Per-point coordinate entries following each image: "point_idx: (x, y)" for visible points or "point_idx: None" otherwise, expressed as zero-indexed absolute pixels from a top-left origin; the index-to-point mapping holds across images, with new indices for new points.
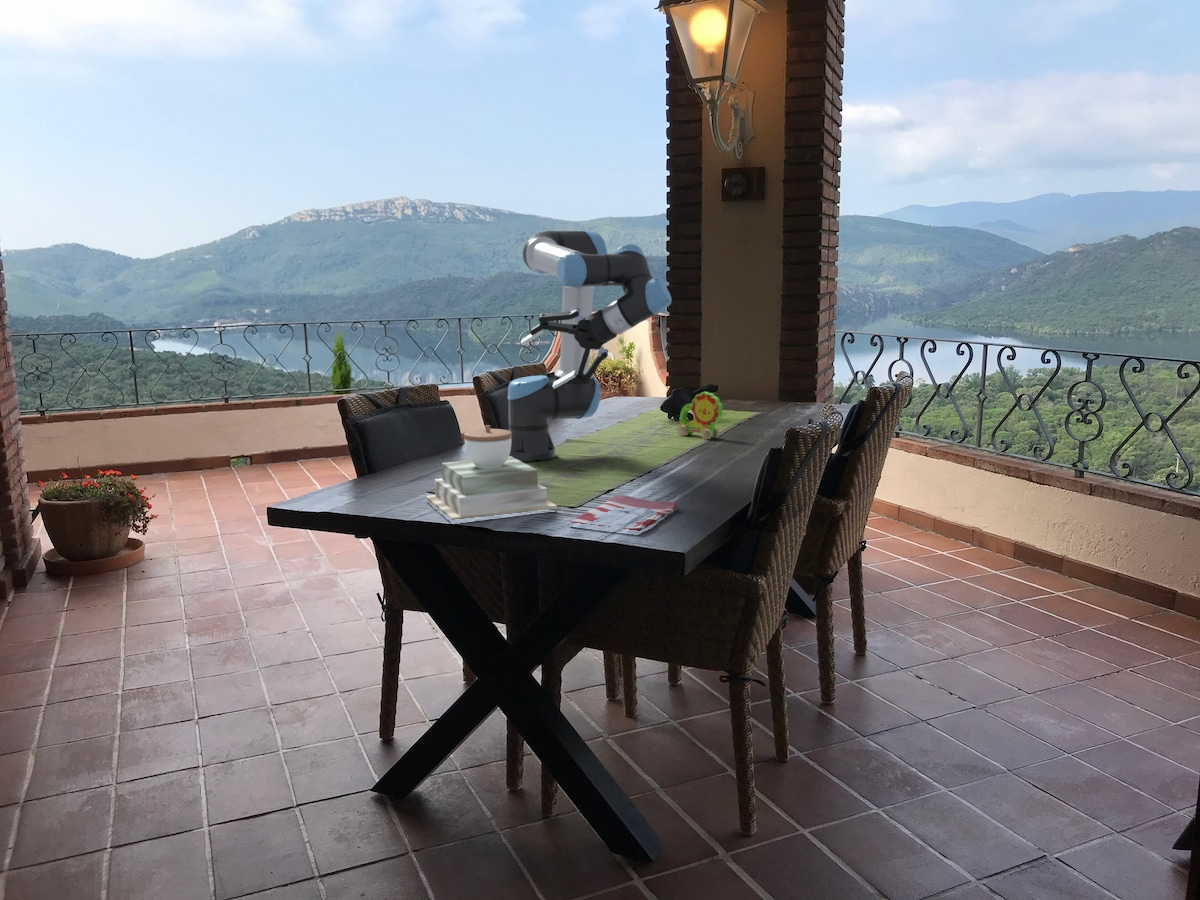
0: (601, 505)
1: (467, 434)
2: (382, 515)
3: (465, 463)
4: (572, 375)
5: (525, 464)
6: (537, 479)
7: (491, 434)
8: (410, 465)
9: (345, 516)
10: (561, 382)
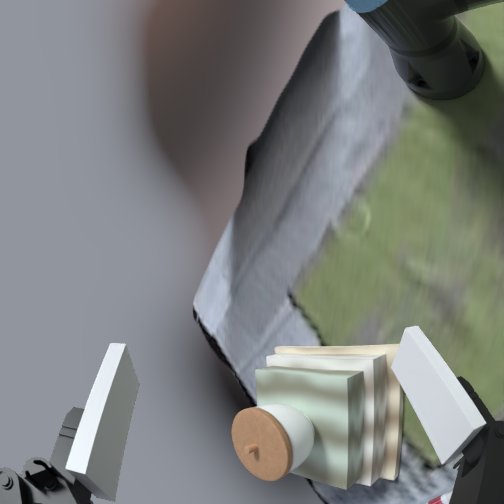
0: (448, 498)
1: (233, 439)
2: (244, 377)
3: (276, 391)
4: (439, 456)
5: (345, 451)
6: (354, 482)
7: (255, 467)
8: (283, 125)
9: (223, 362)
10: (413, 402)
